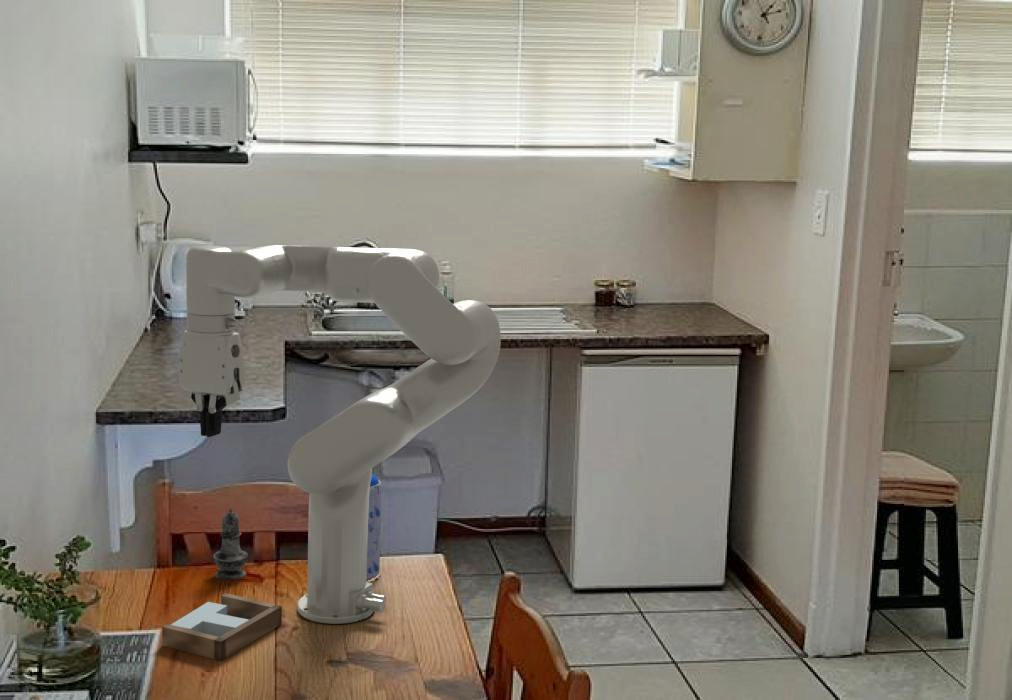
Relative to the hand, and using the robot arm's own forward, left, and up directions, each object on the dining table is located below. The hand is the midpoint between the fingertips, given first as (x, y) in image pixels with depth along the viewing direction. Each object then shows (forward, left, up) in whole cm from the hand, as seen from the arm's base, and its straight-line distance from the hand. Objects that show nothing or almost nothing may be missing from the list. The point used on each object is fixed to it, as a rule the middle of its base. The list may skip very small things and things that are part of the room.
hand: (210, 434), depth 201 cm
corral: (-12, +13, -27) cm, 32 cm away
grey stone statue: (+2, -8, -27) cm, 29 cm away
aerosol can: (-17, -19, -27) cm, 37 cm away
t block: (-11, +13, -27) cm, 32 cm away
